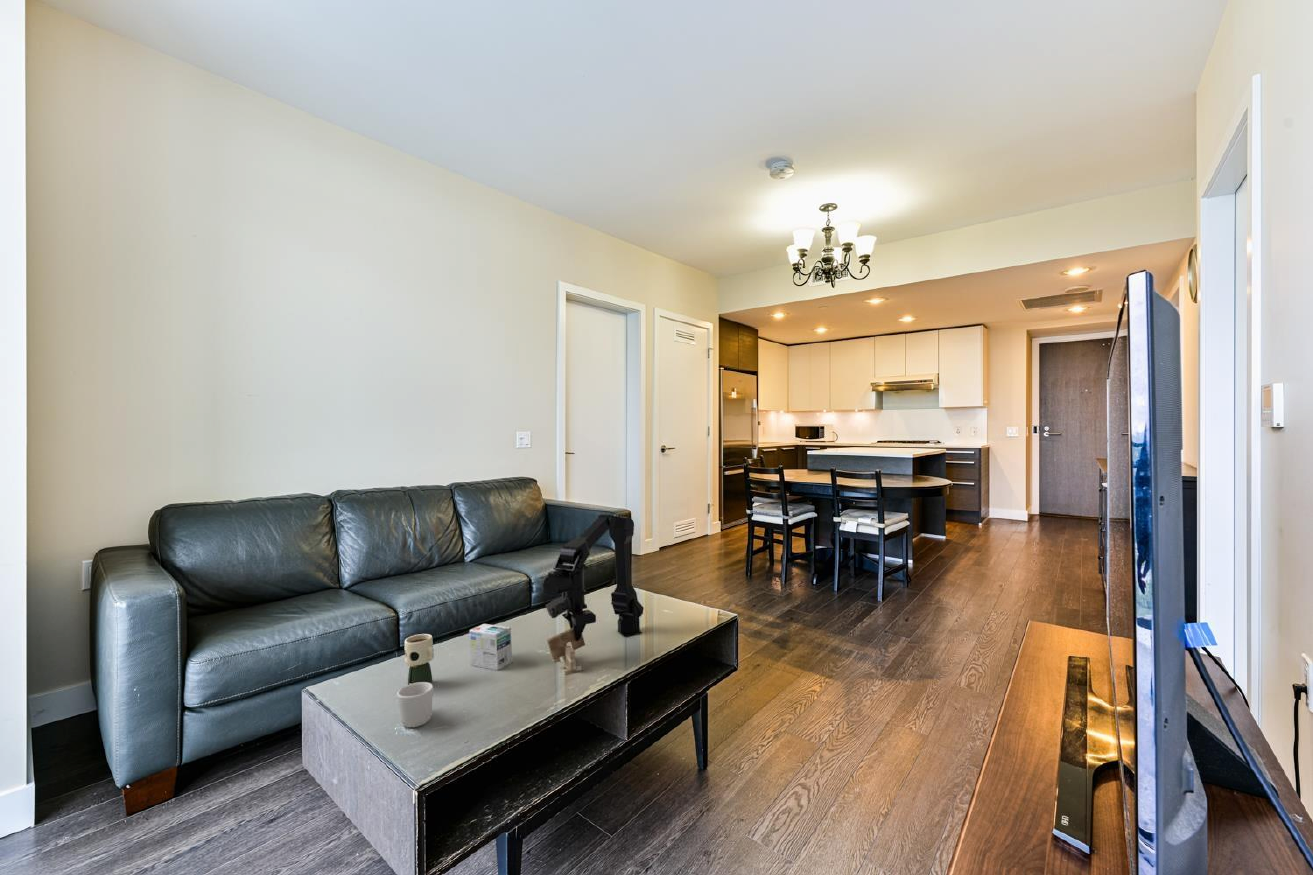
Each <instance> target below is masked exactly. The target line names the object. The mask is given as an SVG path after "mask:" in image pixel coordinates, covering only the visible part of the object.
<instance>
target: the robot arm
mask: <svg viewBox="0 0 1313 875" xmlns="http://www.w3.org/2000/svg"><path fill="white" fill-rule="evenodd" d="M607 532H608V534H609V537H610V539H611V541H612V542H613V544H614V557H615V572H616V573H615V576H616V578H615V579H616V580H615V581H616V587H615V589H614V591H612V592H611V593H610V597H611V598H610V599H611V602H610V604H611V606H612V608H613V612H614V615H616V616H617V615H618V619H617V630H616V632H618V633H619V634H620V635H621V636H623V637H626V638H627V637H630V636H634V635H639V634H642V633H643V632H642V630H640V626H641V625H640V617H642V615H643V614H644V606H643V605H642V604H641V603H640V602H639V600H638V594H637V591H636V589H635V588H634V586H633V585H632V570H631V569H632V568H631V550H630V542H631V541H632V539H633V536H634V535H635V534H634V532H635V521H634V520H633V519H632V518H631V517H630V516H616V515H614V514H612V513H611V514H610V513H601V514H599V515H598V516H597V518H596V519H595V520H594V522H592V523H591V524H590V525H589V526H588V528H586V530H585V531H583V533H582V534H580V536H578V537H577V538H575V539H573V540H570V541H568V542H567V543H565V544H563V546H561V548H560V551H559V554H558V556H557V558H556V561H555V563H554V566H553V571H552V570H550V571H548V572H547V575H548V576H546V577H545V578H544V580H543V583H542V588H543V591H544V593H545V594H546V595H547V596H548V597H555V596H558V595H560V594H561V596H560V597H557V598H555V599H553V600H552V601H550V602H548V603H547V604H545V609H546V611H547V613H548V616H550V617H551V619H555V618H557V617H558V616H560V615H561V616H562V617H563V618H564V619H566V620H567V622H568V625H569V629H571V628H573V631H574V636H575V640H576V641H579V640H580V637H581V635H583V633H584V630H585V627H586V625H590V624H594V623H596V622H597V615H596V613H594V612H592V611H591V610H590V609H588V604H586V603H585V602H586V600H585V597H586V595H587V590H585V579H584V578H585V577H584V576H585V574H584V571H586V570H588V569H589V566H588V565H586V564H585V563H586V562H587V560H588V558H589V557H590V555H591V549H592V548H593V546H594V545H596V544H597V542H598V541H600V539H601V538H602V536H603V535H604V534H606V533H607Z"/></svg>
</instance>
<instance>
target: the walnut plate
mask: <svg viewBox="0 0 1313 875" xmlns="http://www.w3.org/2000/svg"><path fill="white" fill-rule="evenodd" d="M546 642H547V644H548V649H549V651H550V652H549V653H550V655H551V660H552V659H553V660H556V659H558V658H560V657H562V656H564V655H565V651H564V648H563V645H564V644H567V645H568V643H570V644H571V645H570V646H571V648H572V649H573V650H574V651H576V650H578V649H581V648H582V647H584V646H586V643H585V639H584V636H583V634H582V635H581V637H580V640H579V641H576V640H575V636H574V631H573V628H571V629H570V628H569V629H567V630H565V631H562V632H560V633H557V634H556V635H555V636H552V637H550V638H548V639H546ZM553 660H552V661H553Z"/></svg>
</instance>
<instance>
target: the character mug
mask: <svg viewBox="0 0 1313 875" xmlns="http://www.w3.org/2000/svg"><path fill="white" fill-rule="evenodd" d="M433 646H434V645H433V636H432V634H429V633H421V634H419V633H418V634H414V635H411V636H409V637H407V638H405V639H404V662H405V664H406V665H407V666H409V668H408V676H407V685H409V684H413V683H418V682H427V683H431V684H432V682H433V675H432V669H431V664H430V663H429V662H431V661H432V660H434V657H435V656H434V655H435V654H434V647H433Z"/></svg>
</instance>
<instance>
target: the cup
mask: <svg viewBox="0 0 1313 875" xmlns="http://www.w3.org/2000/svg"><path fill="white" fill-rule="evenodd" d="M433 697H434V685H433V684H432V682H431V683H427V682H418V683H413V684H409V685H408V684H407V685H404V686H402V687H401V688H400V689H399V690H398V691H397V693H396V698H397V699H396V700H397V705H398V710H399V711H398V712H399V717H400V722H401V724H402V725H403V727H405V728H408V727H413V728H417V727H422V726H424V725H425V724H426V723H428V722H429V721H430V719H431V718H432V711H433Z"/></svg>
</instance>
